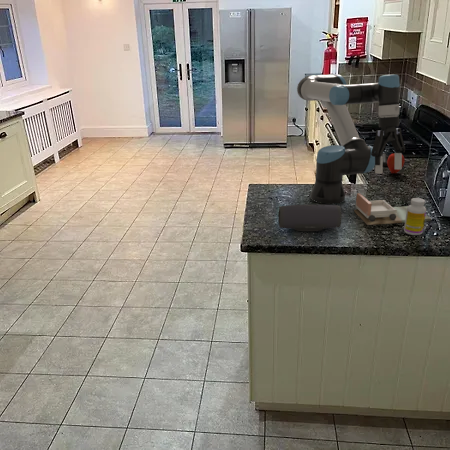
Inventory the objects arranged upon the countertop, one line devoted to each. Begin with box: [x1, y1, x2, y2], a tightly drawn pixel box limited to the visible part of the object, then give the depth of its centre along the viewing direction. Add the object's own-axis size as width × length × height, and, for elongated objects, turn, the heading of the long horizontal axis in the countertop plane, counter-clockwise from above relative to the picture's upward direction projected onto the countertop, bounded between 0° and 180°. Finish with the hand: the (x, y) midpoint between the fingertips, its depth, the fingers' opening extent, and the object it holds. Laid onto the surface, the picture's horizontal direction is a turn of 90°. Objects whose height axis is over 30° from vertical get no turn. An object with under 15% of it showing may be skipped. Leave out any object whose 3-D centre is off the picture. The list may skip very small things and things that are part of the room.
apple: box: [387, 152, 405, 174], centre depth 233 cm, size 9×8×11 cm
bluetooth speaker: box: [277, 204, 342, 232], centre depth 170 cm, size 23×9×10 cm, turn 89°
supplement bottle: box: [403, 197, 427, 236], centre depth 165 cm, size 7×7×13 cm
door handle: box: [381, 152, 410, 168], centre depth 253 cm, size 3×20×16 cm
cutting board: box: [354, 205, 432, 226], centre depth 182 cm, size 26×14×1 cm, turn 96°
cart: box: [355, 192, 397, 222], centre depth 180 cm, size 12×14×7 cm
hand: (388, 171), depth 178 cm, fingers open, 13 cm apart
